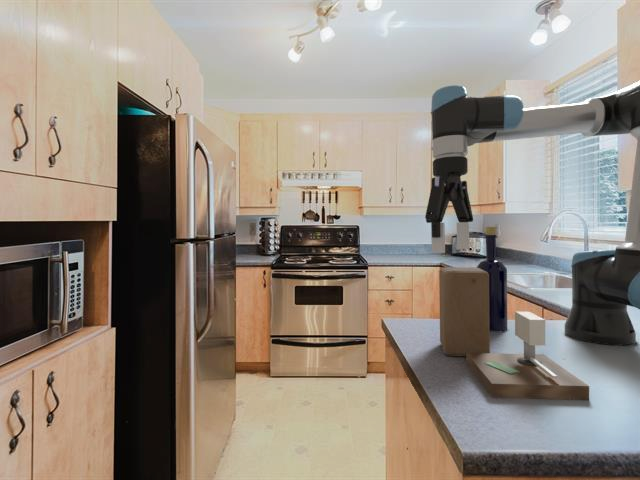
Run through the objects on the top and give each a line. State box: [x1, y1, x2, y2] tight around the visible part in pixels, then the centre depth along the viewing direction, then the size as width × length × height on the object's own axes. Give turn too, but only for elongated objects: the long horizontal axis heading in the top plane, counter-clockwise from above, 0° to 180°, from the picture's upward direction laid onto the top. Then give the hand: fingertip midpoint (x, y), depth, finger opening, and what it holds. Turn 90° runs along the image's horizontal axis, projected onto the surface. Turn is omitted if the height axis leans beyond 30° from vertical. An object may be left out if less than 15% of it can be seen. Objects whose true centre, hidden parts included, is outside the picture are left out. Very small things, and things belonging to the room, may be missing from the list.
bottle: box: [476, 226, 508, 333], centre depth 109 cm, size 9×9×30 cm
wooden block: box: [438, 266, 491, 357], centre depth 89 cm, size 10×10×20 cm
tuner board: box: [465, 352, 590, 401], centre depth 72 cm, size 16×16×3 cm
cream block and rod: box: [514, 311, 557, 379], centre depth 71 cm, size 3×14×9 cm, turn 173°
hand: (451, 251), depth 84 cm, fingers open, 13 cm apart
